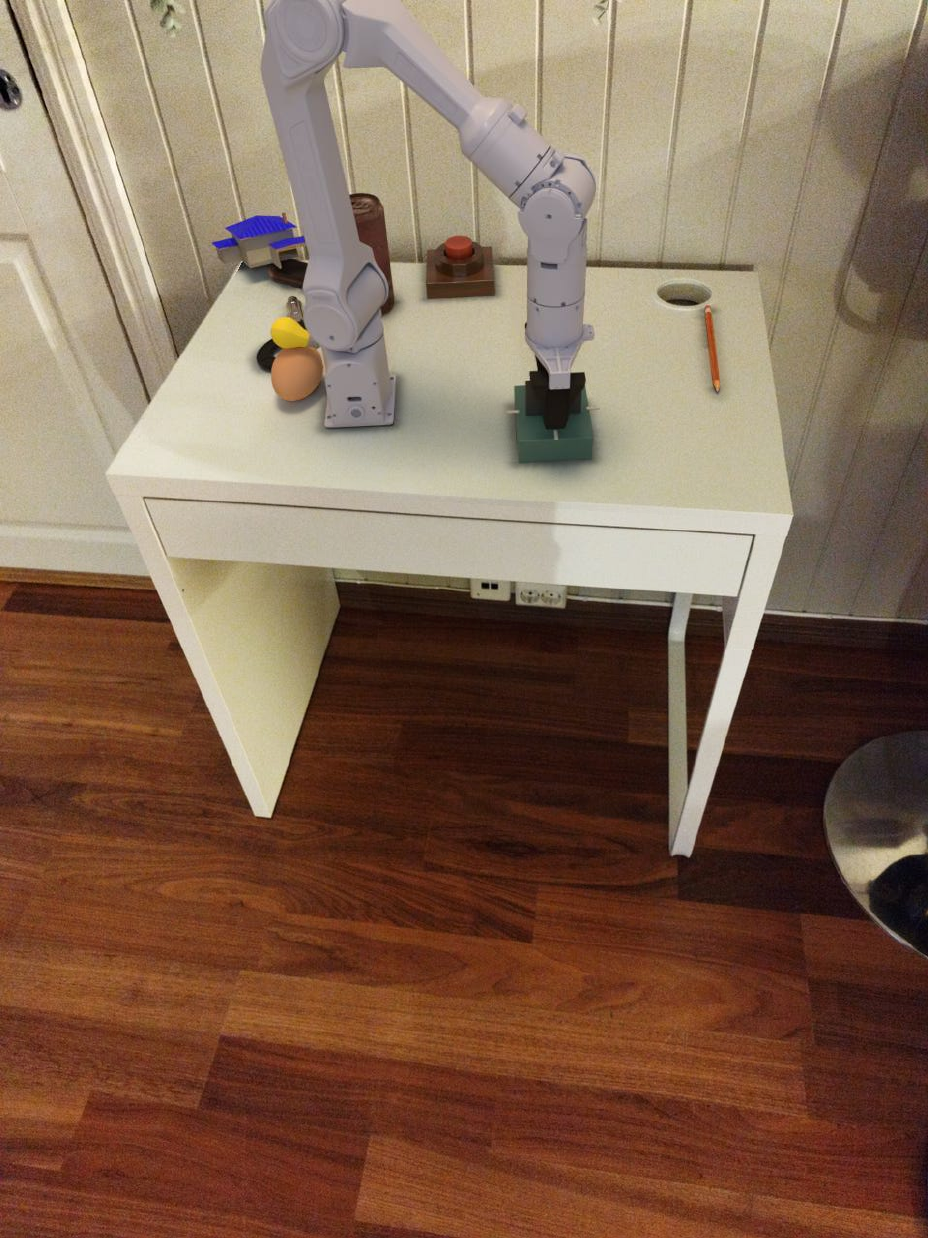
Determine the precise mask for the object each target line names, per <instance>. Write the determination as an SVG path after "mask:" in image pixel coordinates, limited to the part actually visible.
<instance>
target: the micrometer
mask: <svg viewBox="0 0 928 1238" xmlns="http://www.w3.org/2000/svg"><path fill="white" fill-rule="evenodd" d="M285 309H286V310H285V311H286V313H287V317H288V318H291V319H293V320H295V321H296V322H297V323H298V324H299V325H300V326H301V327H302V328H303V329H305V330H307V329H306V327H305V324H304V319H303V313H304V308H303V303H302V302H301V301H300V300H299V299H298V298H297V297H296V296H295V295H290V296H289V297H288V298H287V302H286V303H285ZM278 348H280V347H279V346H278V345H277V344H276V343H275V342H274V341H273V339H272V338H270V339H268V340H266V342H265V343H263V345H261V347H260V348H259V349H258V351H257V352H256V362H257V363H258V365H259V366H260V368H263V369H266V370H271V369H272V365H273V362H274V360H275V358H276V356H274V355H273V353H274V352H275V351H276V350H277V349H278Z"/></svg>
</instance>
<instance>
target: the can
mask: <svg viewBox="0 0 928 1238" xmlns="http://www.w3.org/2000/svg"><path fill="white" fill-rule="evenodd" d="M349 196H350V201H351V205H352V210H353V214H354V219H355V223H356V228H357V232H358V237H359V241H360V242H362V243H364V244H366V245H368V246H370V247H371V248H372V249H373V253H374V258H375V261H376V263H377V265H378V267H379V268H380V270H381V271H382V272H383V274H384V276H385V277H386V280H387V282H388V288H389V292H388V297H387V300H386V302H385V303H384V304H383V305H382V306H381V307H380V308H381V315H382V316H383V315H385V314H387V313H389V311H391V309H392V308H393V306H394V304H395V294H394V285H393V276H392V268H391V259H390V251H389V243H388V241H389V240H388V234H387V227H386V226H387V224H386V218H385V207H384V206H383V204H382V202H381V199H380V198H379V197H378V196H376V195H375V194H372V193H368V192H355V193H349Z"/></svg>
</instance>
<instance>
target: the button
mask: <svg viewBox="0 0 928 1238" xmlns="http://www.w3.org/2000/svg"><path fill="white" fill-rule="evenodd" d="M472 241H473V239H472V238H471V237H469V236H466V235H453V236H451V237H448V238H446V239H445V242H444V243H445V252H446V257H447V258H449V259H453V260H464V259H467V258H469V257H471V256H472V254H473V251H472Z"/></svg>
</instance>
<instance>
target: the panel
mask: <svg viewBox="0 0 928 1238" xmlns="http://www.w3.org/2000/svg"><path fill="white" fill-rule="evenodd" d="M513 388H514V389H513V391H514V393H513V394H514V396H513V398H514V409H513V410H512V409H511V410H506V415H510V414H515V415H514V417H515V427H516V428H515V431H516V443H517V456H518V463H533V462H534V463H536V462H537V463H538V462H557V461H558V462H559V461H578V460H580V461H583V460H592V459H593V454H594V453H593V451H594V440H595V439H594V438H595V437H594V432H593V425H592V418H591V413H590V410H600V406H599V405H596V406H594V405H593V406H589V400H588V395H587V389H586V385H585V386H584V389H583V390H582V397H581V413H572V414H570V415H569V419H568V422H567V424H566V427H565V428H564V429H549V430H547V429H546V427H545V425H544V421H543V416H542V415H531V416H526V411H525V384H522V385H521V384H520V385H519V384H518V385H514V387H513Z"/></svg>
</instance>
